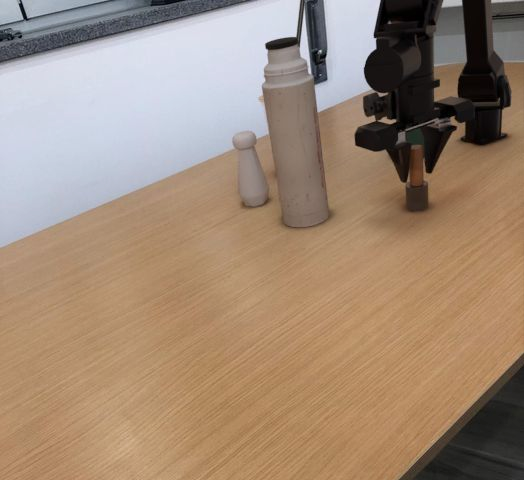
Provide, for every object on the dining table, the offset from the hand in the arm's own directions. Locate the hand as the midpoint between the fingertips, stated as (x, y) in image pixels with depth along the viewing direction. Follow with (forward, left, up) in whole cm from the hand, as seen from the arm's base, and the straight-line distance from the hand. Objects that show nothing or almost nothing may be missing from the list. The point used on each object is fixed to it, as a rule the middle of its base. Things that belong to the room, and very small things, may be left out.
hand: (416, 177), depth 96 cm
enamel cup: (-16, -22, -5) cm, 28 cm away
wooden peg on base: (0, 0, -5) cm, 5 cm away
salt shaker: (+18, -25, -5) cm, 31 cm away
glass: (+4, -34, -5) cm, 35 cm away
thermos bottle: (+15, -11, -5) cm, 19 cm away
